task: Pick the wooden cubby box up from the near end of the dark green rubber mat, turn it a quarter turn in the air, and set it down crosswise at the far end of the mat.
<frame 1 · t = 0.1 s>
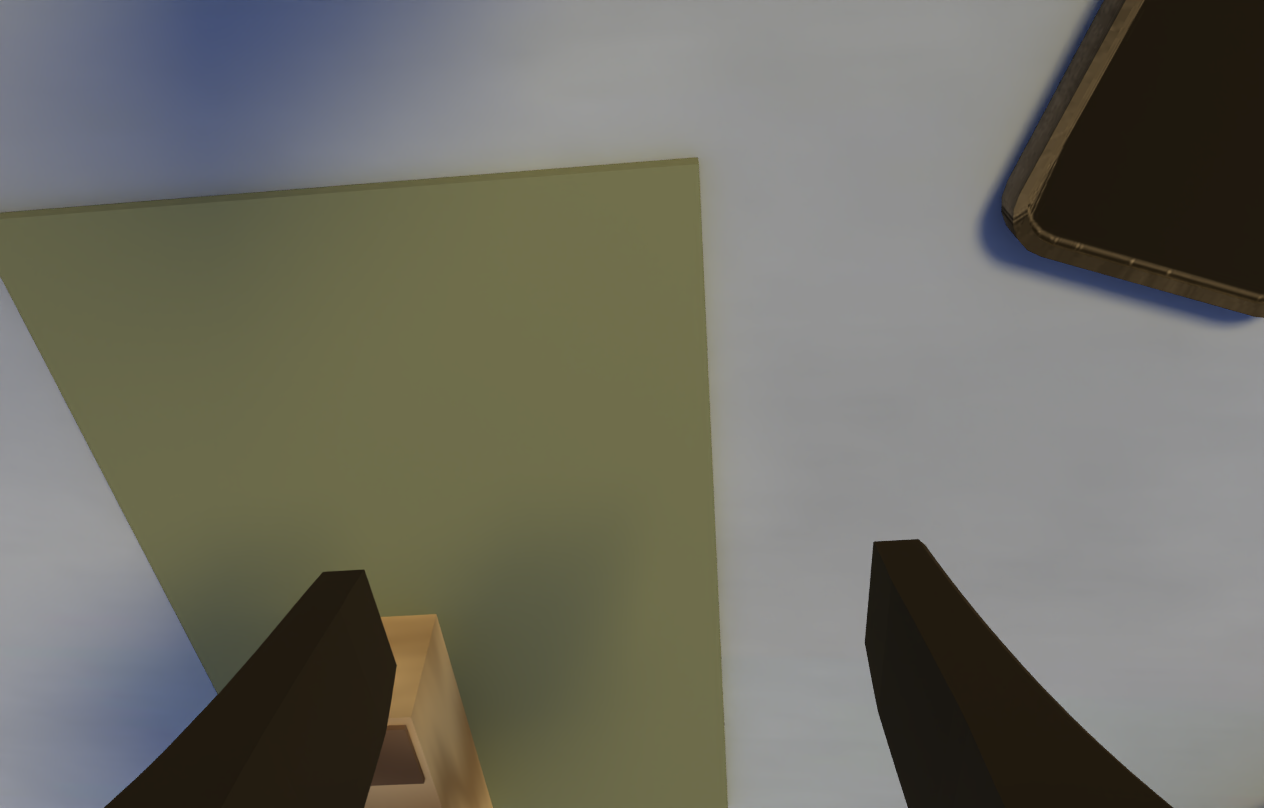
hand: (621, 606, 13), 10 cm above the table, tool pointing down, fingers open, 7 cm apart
rubber mat: (442, 579, 27), on the table
wooden cubby box: (401, 724, 30), resting on rubber mat
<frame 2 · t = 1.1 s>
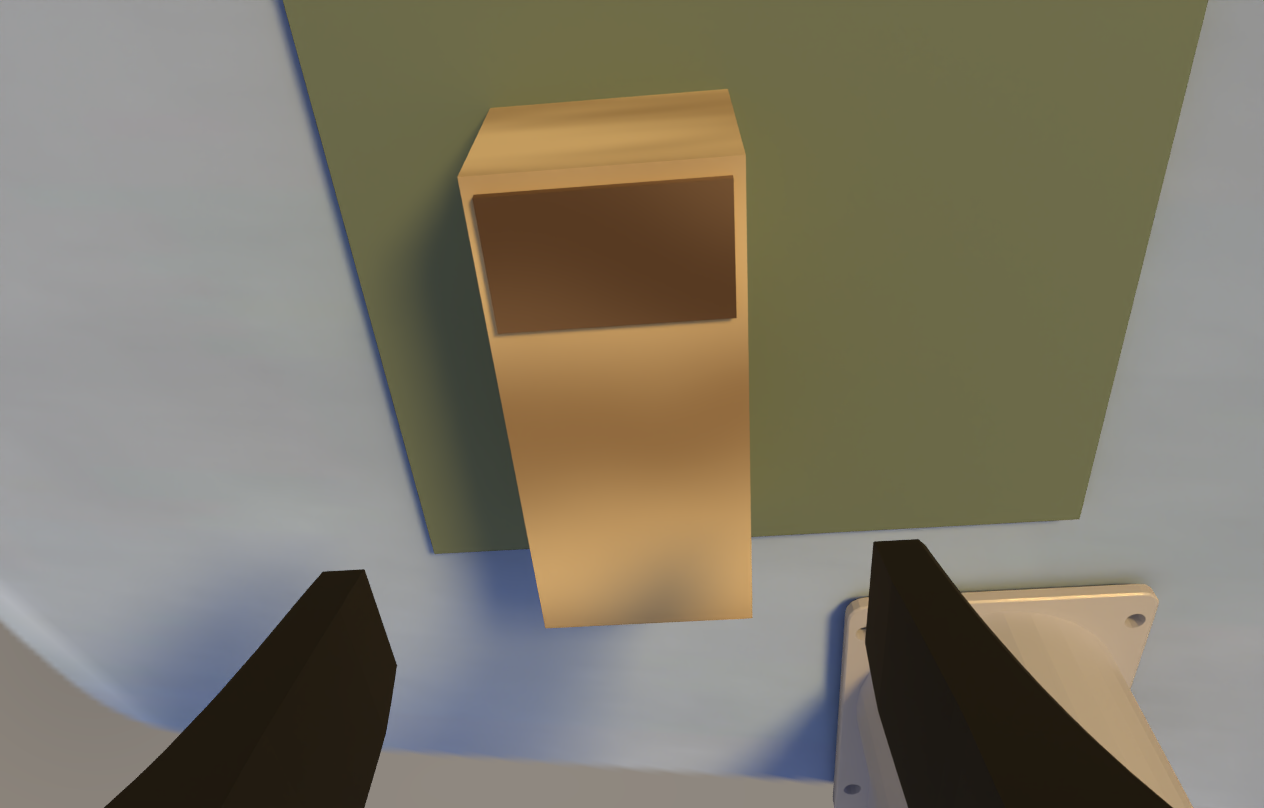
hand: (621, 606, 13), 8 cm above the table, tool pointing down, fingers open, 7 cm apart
rubber mat: (741, 24, 17), on the table
wooden cubby box: (630, 334, 20), resting on rubber mat
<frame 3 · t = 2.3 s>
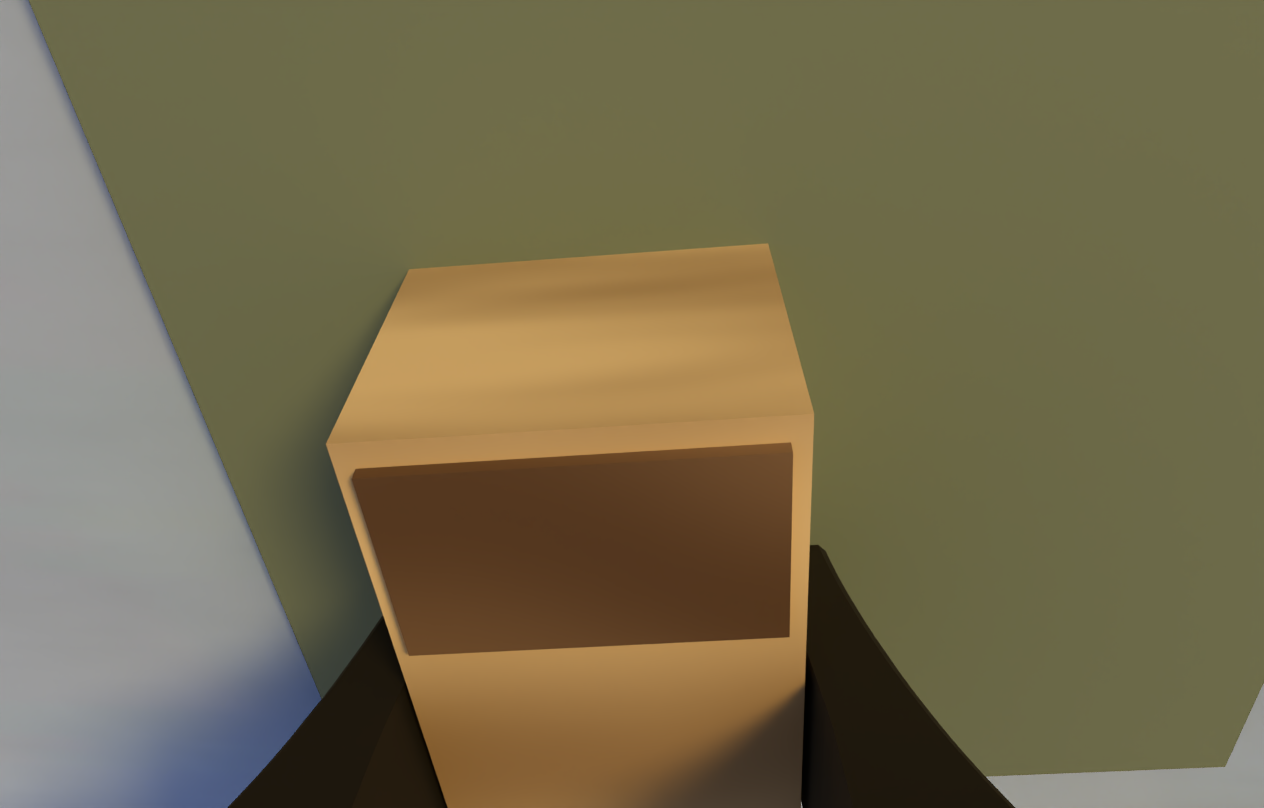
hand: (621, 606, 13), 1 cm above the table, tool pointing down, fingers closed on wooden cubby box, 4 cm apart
rubber mat: (789, 149, 11), on the table
wooden cubby box: (622, 557, 14), resting on rubber mat, touching gripper
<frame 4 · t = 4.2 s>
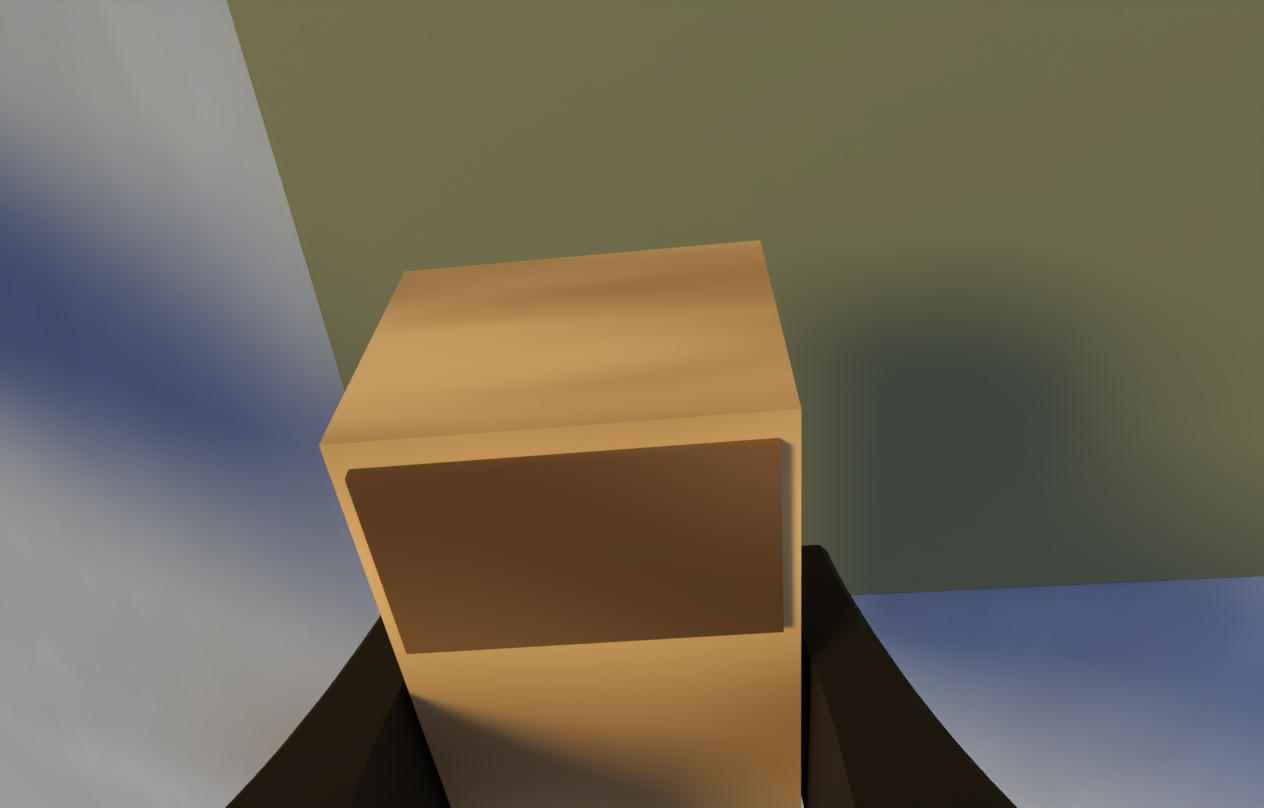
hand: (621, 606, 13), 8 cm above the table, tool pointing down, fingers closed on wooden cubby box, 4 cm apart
rubber mat: (879, 322, 20), on the table
wooden cubby box: (623, 554, 14), point 7 cm above the table, touching gripper
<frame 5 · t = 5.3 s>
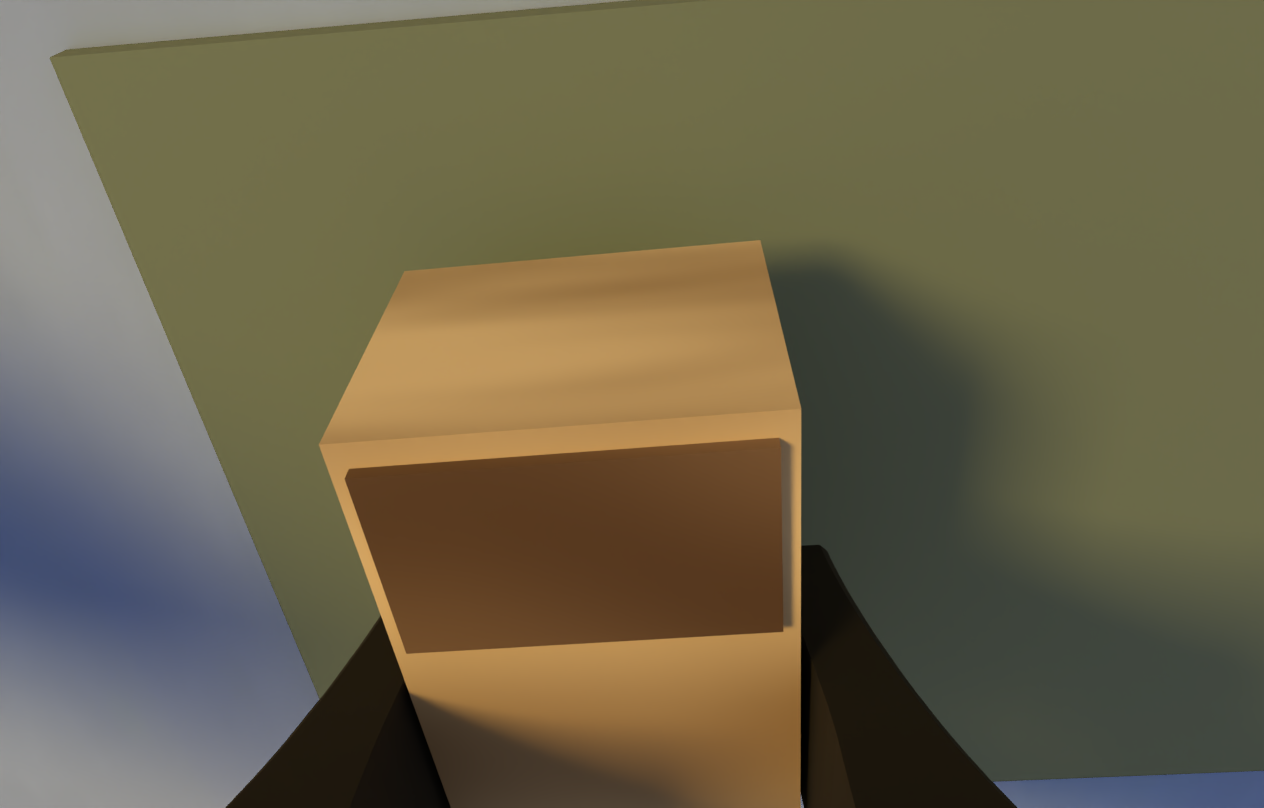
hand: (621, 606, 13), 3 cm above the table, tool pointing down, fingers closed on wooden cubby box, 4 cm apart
rubber mat: (951, 482, 16), on the table
wooden cubby box: (623, 554, 14), point 2 cm above the table, touching gripper
when the fingers open (3 cm above the table, at t = 6.1 s): wooden cubby box drops 1 cm, resting on rubber mat.
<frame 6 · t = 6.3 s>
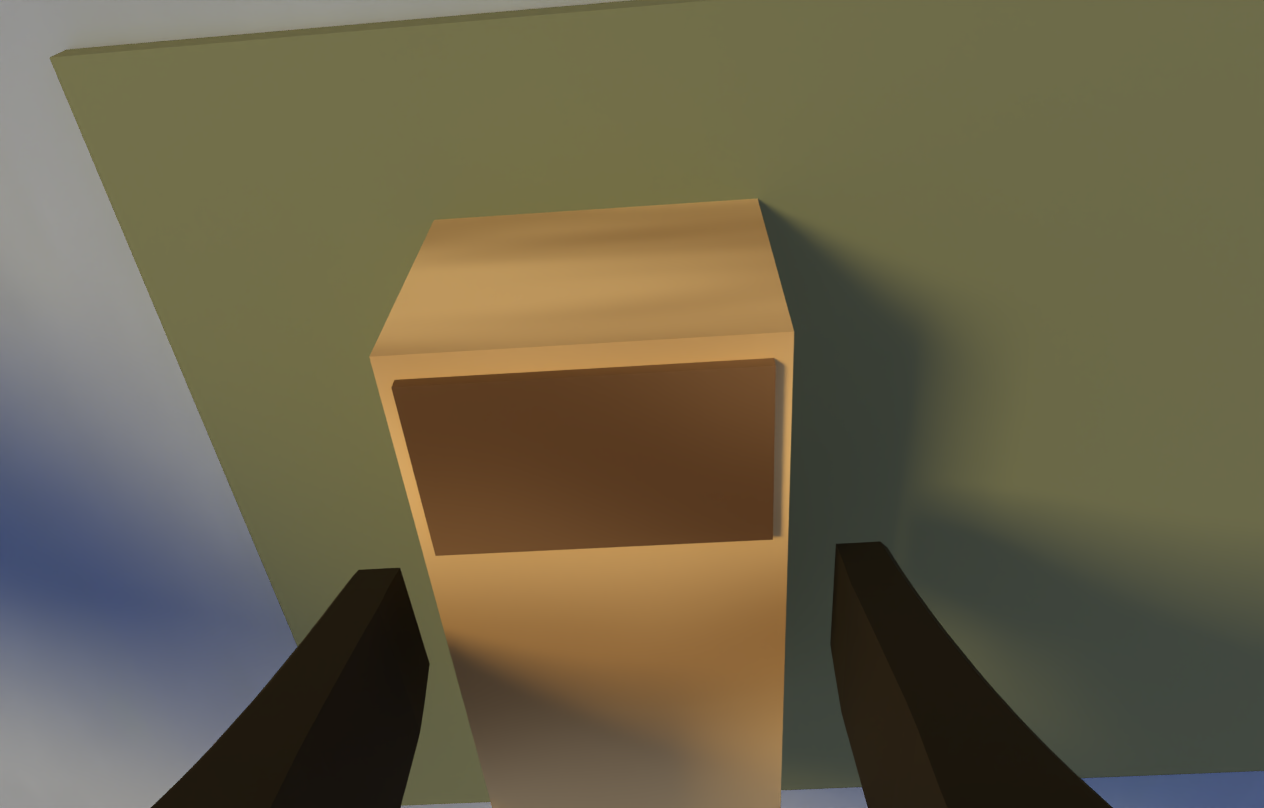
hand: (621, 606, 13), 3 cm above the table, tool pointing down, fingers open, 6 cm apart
rubber mat: (951, 482, 16), on the table
wooden cubby box: (623, 494, 15), resting on rubber mat
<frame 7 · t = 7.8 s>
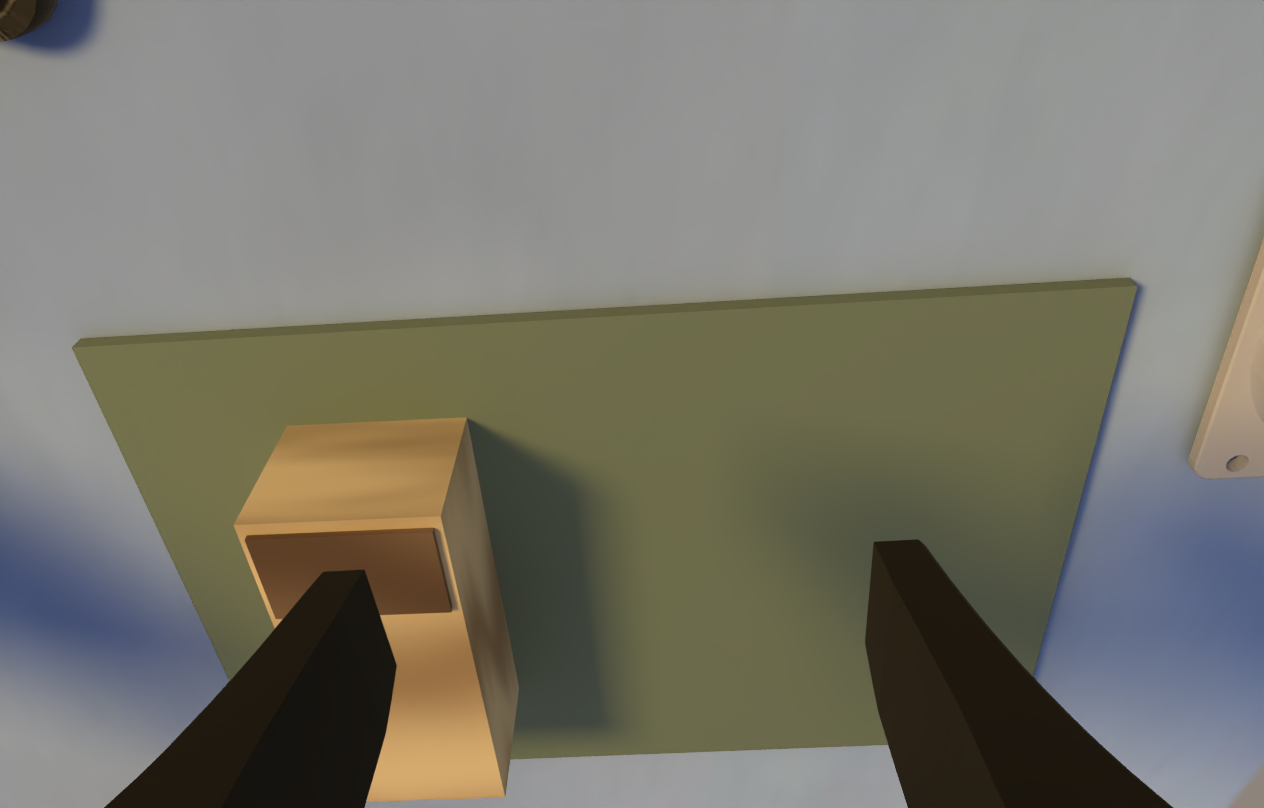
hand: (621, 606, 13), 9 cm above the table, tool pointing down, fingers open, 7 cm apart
rubber mat: (619, 564, 25), on the table
wooden cubby box: (415, 571, 25), resting on rubber mat
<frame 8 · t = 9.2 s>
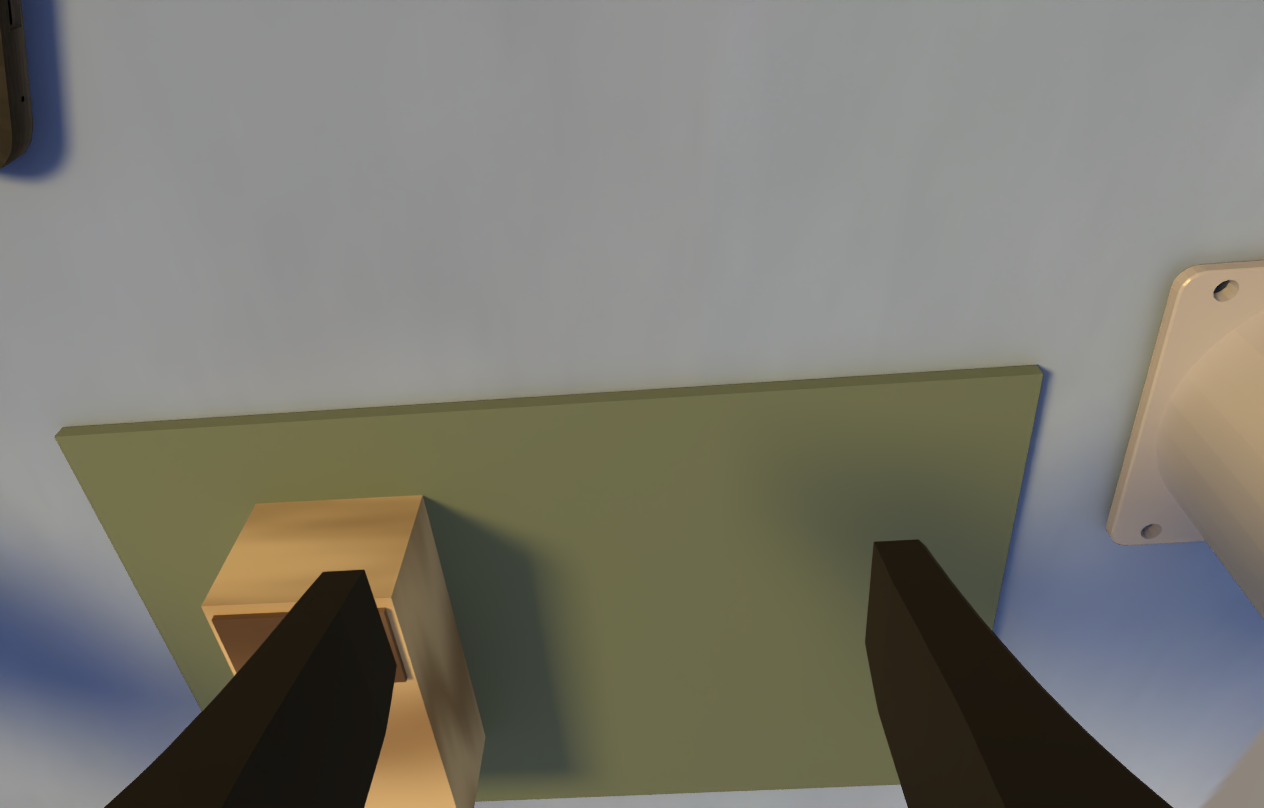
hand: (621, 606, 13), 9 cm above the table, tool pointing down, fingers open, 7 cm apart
rubber mat: (574, 623, 27), on the table
wooden cubby box: (382, 631, 27), resting on rubber mat
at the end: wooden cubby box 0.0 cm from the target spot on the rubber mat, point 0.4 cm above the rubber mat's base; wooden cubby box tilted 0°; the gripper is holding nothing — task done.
